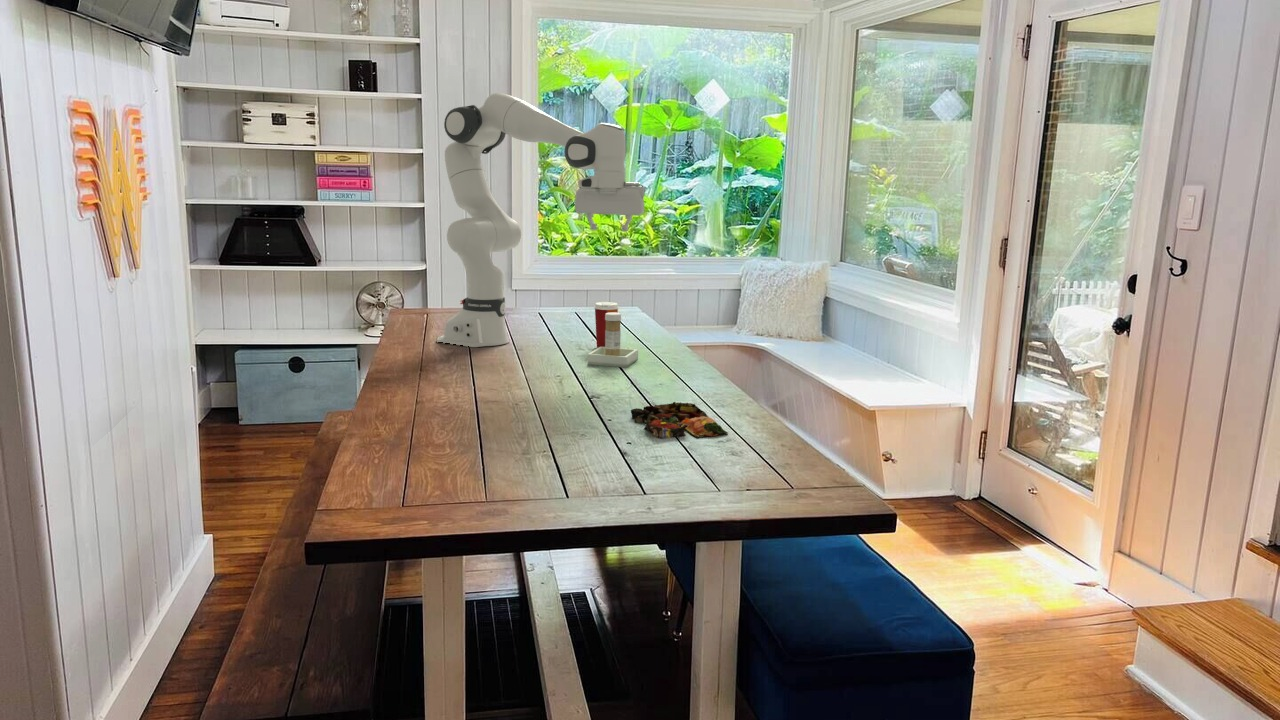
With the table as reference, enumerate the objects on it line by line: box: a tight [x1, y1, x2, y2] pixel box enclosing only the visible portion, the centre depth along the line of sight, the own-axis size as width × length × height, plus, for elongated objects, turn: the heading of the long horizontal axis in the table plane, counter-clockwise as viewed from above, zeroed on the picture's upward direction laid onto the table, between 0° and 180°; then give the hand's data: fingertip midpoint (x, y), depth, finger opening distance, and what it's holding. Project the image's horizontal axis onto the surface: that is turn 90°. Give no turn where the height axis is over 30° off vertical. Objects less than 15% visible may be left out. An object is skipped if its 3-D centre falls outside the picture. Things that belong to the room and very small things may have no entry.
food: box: [630, 401, 729, 440], centre depth 205 cm, size 22×19×4 cm
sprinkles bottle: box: [605, 312, 622, 356], centre depth 265 cm, size 5×5×13 cm
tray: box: [587, 347, 639, 368], centre depth 266 cm, size 12×12×3 cm
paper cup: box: [593, 301, 620, 349], centre depth 284 cm, size 8×8×14 cm
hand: (609, 230), depth 266 cm, fingers open, 8 cm apart
